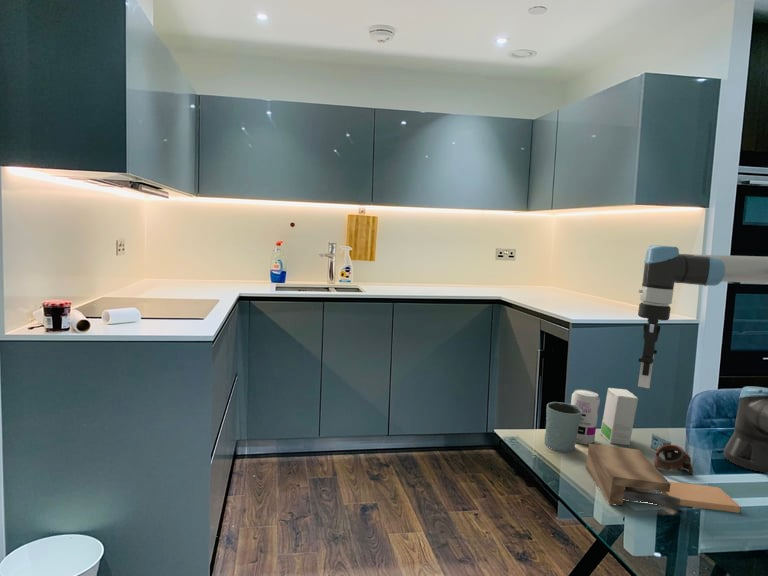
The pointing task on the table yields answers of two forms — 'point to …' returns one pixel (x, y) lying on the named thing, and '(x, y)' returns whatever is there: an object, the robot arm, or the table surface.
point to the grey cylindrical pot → (562, 426)
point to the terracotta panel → (702, 497)
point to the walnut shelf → (627, 476)
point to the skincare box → (619, 416)
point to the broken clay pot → (673, 458)
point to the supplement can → (586, 414)
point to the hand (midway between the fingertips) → (644, 381)
